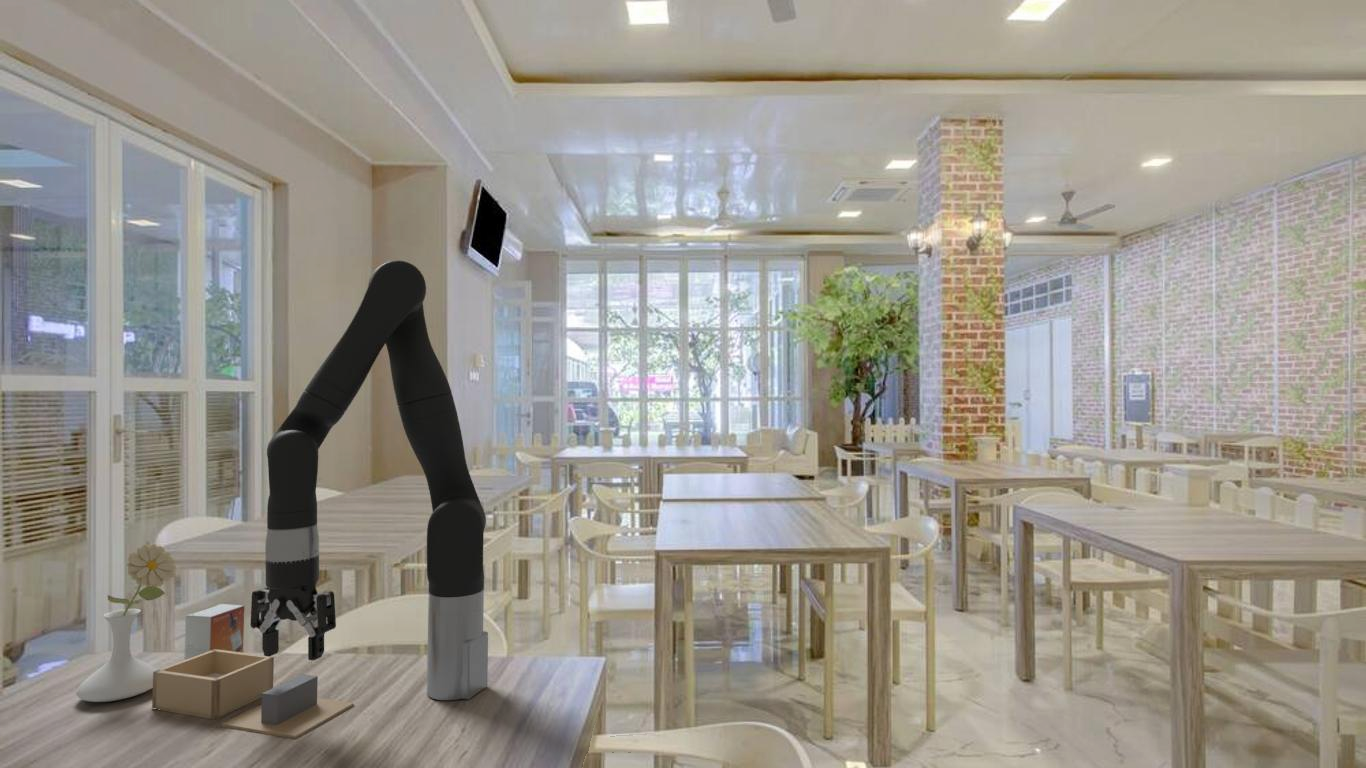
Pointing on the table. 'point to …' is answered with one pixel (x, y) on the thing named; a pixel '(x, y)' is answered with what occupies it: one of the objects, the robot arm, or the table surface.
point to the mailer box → (212, 683)
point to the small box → (214, 630)
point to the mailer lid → (289, 709)
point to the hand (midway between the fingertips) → (293, 656)
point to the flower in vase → (129, 632)
